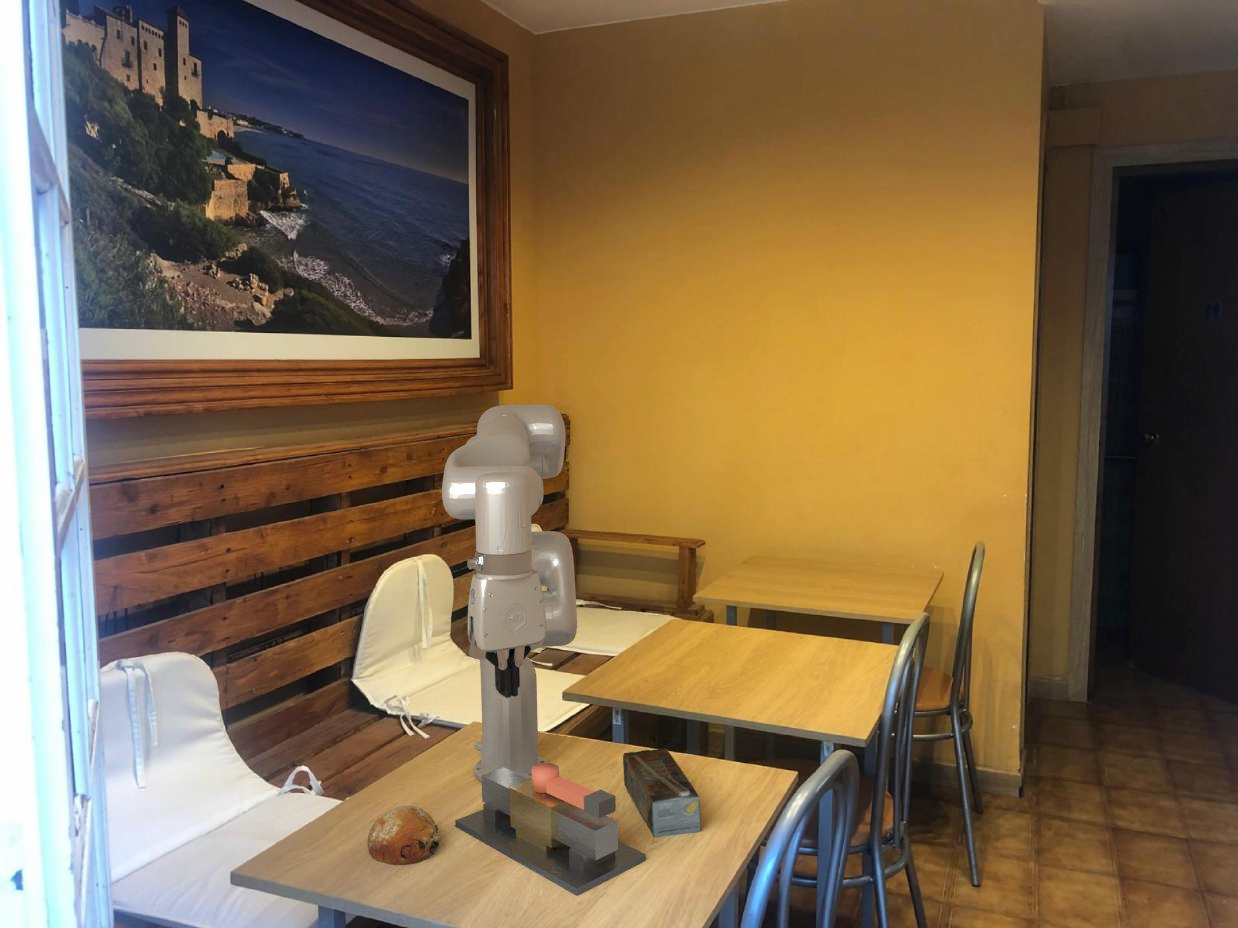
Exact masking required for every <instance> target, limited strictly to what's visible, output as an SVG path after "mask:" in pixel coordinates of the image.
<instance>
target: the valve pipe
mask: <svg viewBox="0 0 1238 928" xmlns="http://www.w3.org/2000/svg"><path fill="white" fill-rule="evenodd" d="M481 776H482V781H481V800H482V802H483V804H482V806H483V807H482V808H483V809H480V810H478V811H476V812H473V813H470V814H467V815H465V816H463V817H460V818H458V819H455V820H454V822H455V823H454V826H455V827H456V828H457V829H459V830H461V831H463V833H465V834H468V835H469V836H471V837H473V838H475V839H476V840H478V841H479V842H481V843H483V844H485V845H487V846H488V847H490V848H492V849H494V850H496V851H498V852H499V853H502V854H503V855H505V856H506V857H508V858H510V859H512V860H514V861H515V862H517V863H518V864H520V865H521V866H523V867H526V868H527V869H529V870H531V871H532V872H535V873H536V874H538V875H540V876H541V877H543V878H545V879H547V880H548V881H550V882H552V883H554V884H556V885H557V886H559V887H561V888H562V889H564V890H566V891H568V892H569V893H571V894H573V895H574V896H579V895H581V894H583V893H585V892H587V891H589V890H591V889H593V888H594V887H597V886H599V885H601V884H603V883H605V882H606V881H608V880H610V879H612V878H614V877H617V876H619V875H620V874H622V873H624V872H626V871H628V870H630V869H632V868H634V867H636V866H638V865H639V864H642V863H644V862H646V853H644V852H642V851H640V850H638V849H636V848H634V847H632V846H630V845H629V844H626V843H623V842H622V841H619V836H618V835H619V829H618V828H619V827H618V825H619V824H618V823H619V821H618V820H617V819H615V818H613V817H610V816H608V815H606V816H604V817H602V818H600V819H598V818H596V817H594V816H592V815H590V814H588V813H585V812H584V810H583V809H581V808H579V807H576V806H574V805H572V804H570V803H568V802H565V801H563V800H561V799H559V798H557V797H555V796H552V795H550V794H548V793H539V792H536V791H534V790H533V789H532V779H531V780H529V779H527V778H525V777H523V776H521V775H518V774H516V773H514V772H512V771H510V770H508V769H506V768H500V769H497V770H495V771H492V772H489V773H487V774H484V775H481Z"/></svg>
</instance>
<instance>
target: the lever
mask: <svg viewBox="0 0 1238 928" xmlns="http://www.w3.org/2000/svg"><path fill="white" fill-rule="evenodd" d="M532 789H533V790H534V791H536V792H539V793H548V794H550V795H552V796H555V797H557V798H559V799H561V800H563V801H565V802H568V803H570V804H572V805H574V806H576V807H579V808H581V809H583V810H584V812H585V813H588V814H590V815H592V816H594V817H596V818H598V819H600V818H602V817H604V816H608V815H610V814H612V813H614V812H616V811H617V810H616V809H617V808H616V806H617V805H616V800H617V799H616V795H614V794H613V793H610V792H608V791H605V790H603V789H598V790H596V791H595V790H592V789H590V788H588V787H586V786H584V785H580V784H579V783H577V782H574V781H572V780H569V779H568V778H565V777H562V776H560V766H559V765H558V764H555V763H550V762H547V763H541V764H537V765H535V766H533V767H532Z"/></svg>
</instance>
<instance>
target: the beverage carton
mask: <svg viewBox="0 0 1238 928" xmlns="http://www.w3.org/2000/svg"><path fill="white" fill-rule="evenodd" d="M622 757H623V759H622V766H623V767H622V768H623V769H622V770H623V783H624V786H625V788H626V791H627V792H628V795H629V796H630V799H631V800H632V802H633V804H634V805H635V807H636V809H637V811H638V813H639V814H640V817H641V818H642V819H643V821H644V823H645V824H646V826H647V828H648V829H649V831H650V833H651V834H652V837H653V838H656V839H657V838H662V837H670V836H677V835H686V834H695V833H699V832H701V830H702V829H701V820H702V819H701V797H700V796H699V794H698V793H697V791H696V789H695V788H694V786H693V784H692V783H691V782H690V781H689V778H687V776H686V774H685V773H684V771H683V770H682V768H681V767H680V765H679V764H678V763H677V762H676V760H675V758H674V756H672V754H671V753H670V752H669V750H668V749H667V748H666V747H662V748H658V749H645V750H639V751H630V752H624V753H623V755H622Z"/></svg>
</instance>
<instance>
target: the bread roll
mask: <svg viewBox="0 0 1238 928" xmlns="http://www.w3.org/2000/svg"><path fill="white" fill-rule="evenodd" d="M441 840H442V838H441V836H440V834H439V826H438V825H437V823H436V822H435V820H434V819H433V817H432V816H431V815H430V814H429V813H428V812H427V811H426V810H424V809H423V808H421V807H418V806H414V805H413V806H412V805H402V806H399V807H395V808H392V809H390V810H388V811H386V812H385V813H384V814H382V815H380V816H378V818H377V819H375V822H374V823H373V824H372V826H371V828H370V830H369V832H368V837H367V848H368V851H369V854H370V855H371V858H372V859H373V860H374V861H376V862H380V863H383V864H387V865H390V866H407V865H413V864H418V863H420V862H422V861H424V860H426V859H428V858H430V857H431V856H432V855H434V854H435V853H436V852H437V848H438V847H439V841H441Z"/></svg>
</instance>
